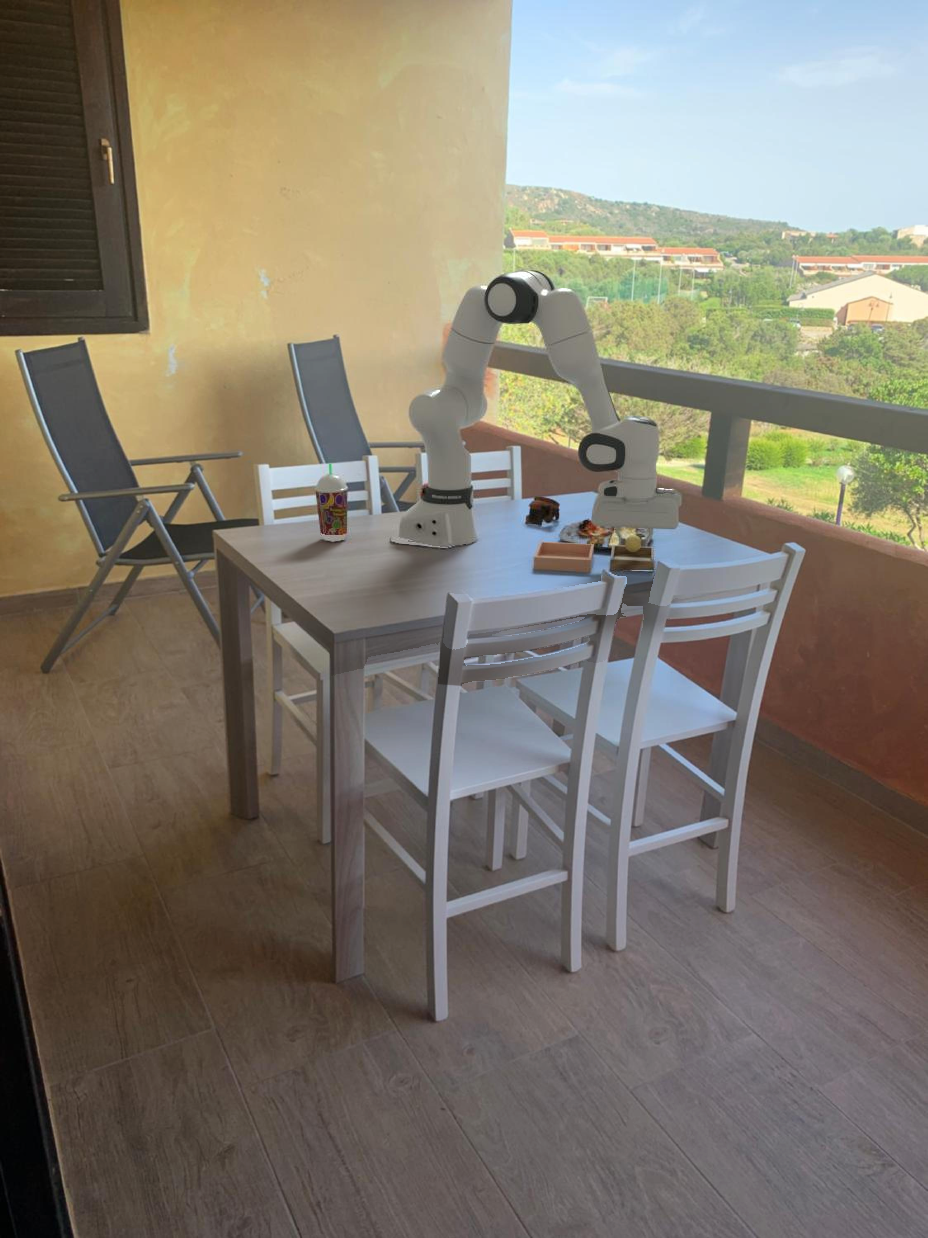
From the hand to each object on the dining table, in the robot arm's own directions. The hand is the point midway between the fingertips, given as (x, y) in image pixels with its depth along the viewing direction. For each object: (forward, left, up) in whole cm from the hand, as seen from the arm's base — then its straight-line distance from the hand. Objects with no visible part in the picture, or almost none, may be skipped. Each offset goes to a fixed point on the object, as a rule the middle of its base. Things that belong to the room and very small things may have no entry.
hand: (632, 545), depth 216 cm
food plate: (-7, +20, -5) cm, 22 cm away
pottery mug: (-25, +34, -5) cm, 43 cm away
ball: (0, 0, 0) cm, 0 cm away
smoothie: (-77, +7, -5) cm, 77 cm away
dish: (-16, -2, -5) cm, 17 cm away
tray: (0, 0, -5) cm, 5 cm away
